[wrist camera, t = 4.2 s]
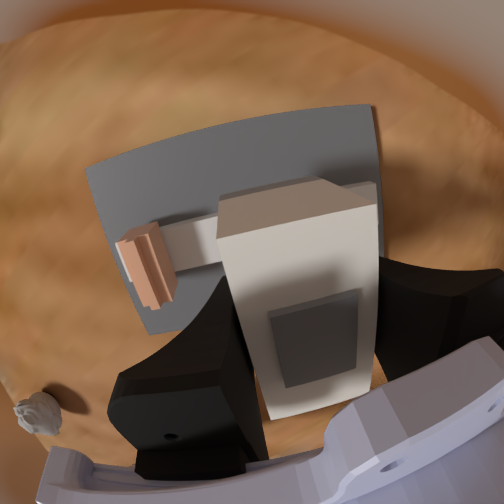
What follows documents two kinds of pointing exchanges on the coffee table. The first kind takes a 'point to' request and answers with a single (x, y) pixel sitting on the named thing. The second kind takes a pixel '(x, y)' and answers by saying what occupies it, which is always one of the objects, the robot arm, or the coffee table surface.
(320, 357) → the block
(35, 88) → the coffee table surface
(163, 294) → the rail clip
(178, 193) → the rail board
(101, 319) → the coffee table surface
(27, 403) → the grey sculpted head
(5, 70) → the coffee table surface
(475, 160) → the coffee table surface
